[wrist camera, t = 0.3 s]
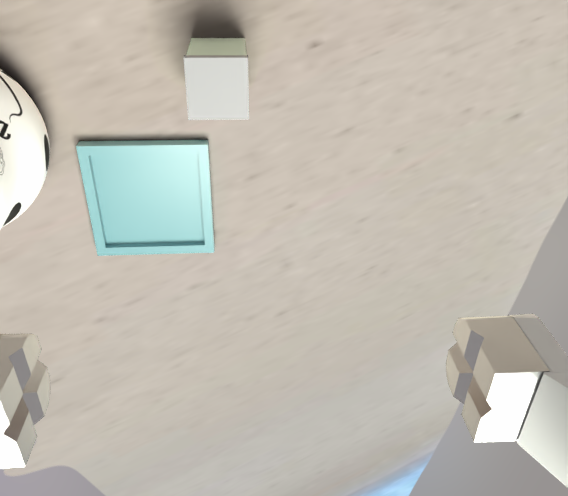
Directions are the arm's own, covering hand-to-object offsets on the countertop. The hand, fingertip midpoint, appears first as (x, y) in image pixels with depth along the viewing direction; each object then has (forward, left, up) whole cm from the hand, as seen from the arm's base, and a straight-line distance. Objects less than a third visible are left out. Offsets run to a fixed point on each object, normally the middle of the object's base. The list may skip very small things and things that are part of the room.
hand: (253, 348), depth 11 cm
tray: (+20, -10, -46) cm, 51 cm away
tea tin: (+6, -2, -46) cm, 46 cm away
